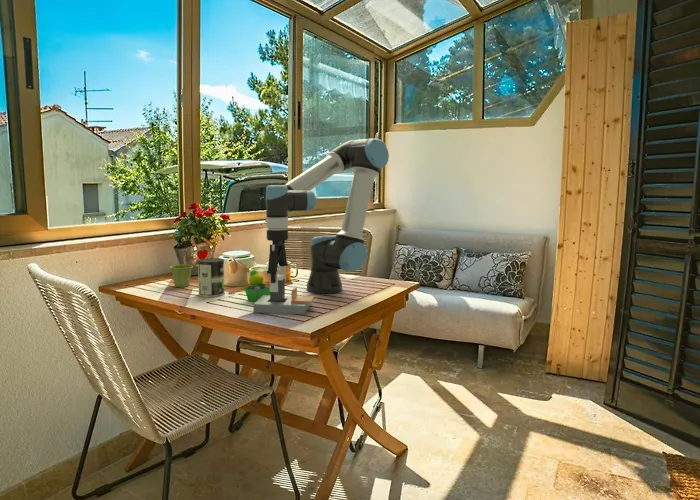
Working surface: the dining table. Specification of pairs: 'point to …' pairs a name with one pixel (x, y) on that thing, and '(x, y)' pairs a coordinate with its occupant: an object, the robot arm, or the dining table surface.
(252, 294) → the fruit basket
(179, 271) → the plant pot
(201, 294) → the coffee can
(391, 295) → the dining table surface
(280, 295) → the plug
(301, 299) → the tan plate with tab
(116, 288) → the dining table surface
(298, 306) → the socket
